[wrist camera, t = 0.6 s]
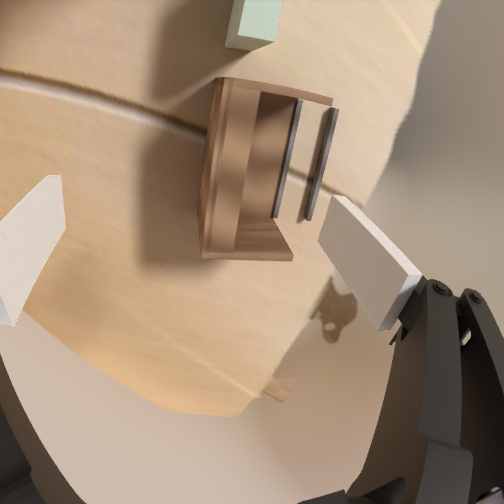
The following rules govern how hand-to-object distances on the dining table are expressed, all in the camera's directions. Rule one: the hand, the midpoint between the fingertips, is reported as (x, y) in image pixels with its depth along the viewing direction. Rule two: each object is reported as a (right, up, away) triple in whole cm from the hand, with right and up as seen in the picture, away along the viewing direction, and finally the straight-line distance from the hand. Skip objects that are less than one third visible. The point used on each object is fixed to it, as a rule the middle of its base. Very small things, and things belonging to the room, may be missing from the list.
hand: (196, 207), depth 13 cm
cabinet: (+4, +10, +23) cm, 26 cm away
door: (+2, +26, +12) cm, 29 cm away
